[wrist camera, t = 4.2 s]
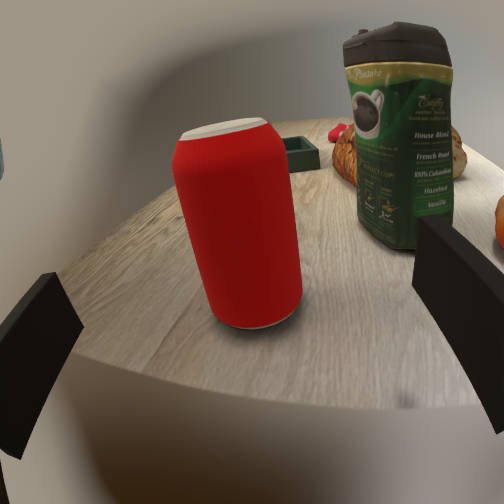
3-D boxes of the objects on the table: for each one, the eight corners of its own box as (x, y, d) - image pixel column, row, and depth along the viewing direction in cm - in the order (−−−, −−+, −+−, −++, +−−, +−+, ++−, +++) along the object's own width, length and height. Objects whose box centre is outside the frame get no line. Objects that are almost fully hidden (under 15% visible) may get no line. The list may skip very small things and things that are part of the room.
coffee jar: (464, 243, 23) (462, 26, 14) (393, 263, 23) (378, 10, 14) (409, 205, 31) (397, 36, 23) (346, 217, 31) (326, 33, 22)
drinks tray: (212, 185, 50) (208, 165, 48) (221, 163, 64) (218, 148, 62) (320, 168, 49) (318, 149, 47) (304, 151, 62) (303, 135, 61)
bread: (351, 196, 36) (344, 114, 31) (321, 162, 52) (315, 106, 47) (480, 184, 34) (482, 114, 29) (424, 154, 50) (421, 102, 45)
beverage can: (319, 291, 21) (301, 112, 16) (272, 352, 17) (230, 132, 12) (248, 274, 25) (217, 120, 19) (196, 322, 21) (141, 145, 15)
